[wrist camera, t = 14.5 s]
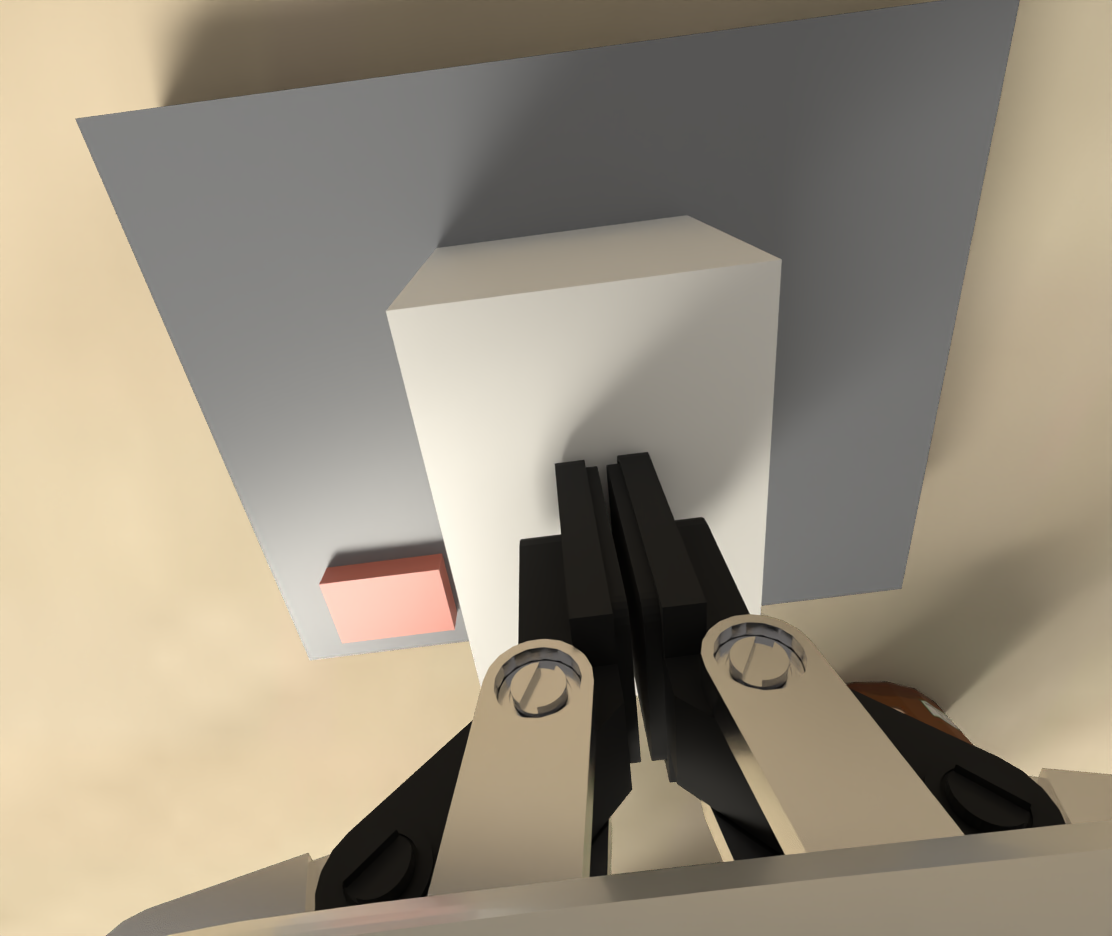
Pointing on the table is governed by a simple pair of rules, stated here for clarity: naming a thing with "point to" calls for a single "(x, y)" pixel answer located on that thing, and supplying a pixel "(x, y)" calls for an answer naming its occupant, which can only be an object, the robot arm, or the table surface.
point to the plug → (588, 390)
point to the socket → (555, 206)
